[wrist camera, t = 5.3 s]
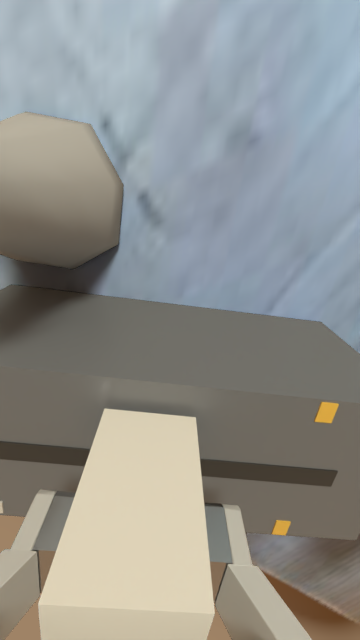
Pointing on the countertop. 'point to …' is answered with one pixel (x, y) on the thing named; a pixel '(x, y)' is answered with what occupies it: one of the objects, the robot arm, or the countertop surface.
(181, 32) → the countertop surface
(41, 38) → the countertop surface
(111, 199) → the flask
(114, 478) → the fader
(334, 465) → the console
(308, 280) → the countertop surface
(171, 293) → the countertop surface
